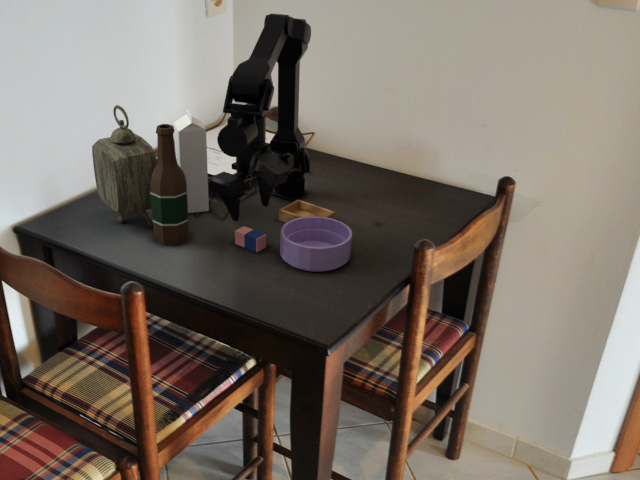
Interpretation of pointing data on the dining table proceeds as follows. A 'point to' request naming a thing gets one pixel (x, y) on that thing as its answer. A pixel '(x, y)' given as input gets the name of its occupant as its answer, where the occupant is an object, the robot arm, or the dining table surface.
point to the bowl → (315, 243)
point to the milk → (193, 160)
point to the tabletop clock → (124, 170)
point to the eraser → (250, 239)
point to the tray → (303, 211)
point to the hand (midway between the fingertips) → (250, 213)
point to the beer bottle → (168, 192)
